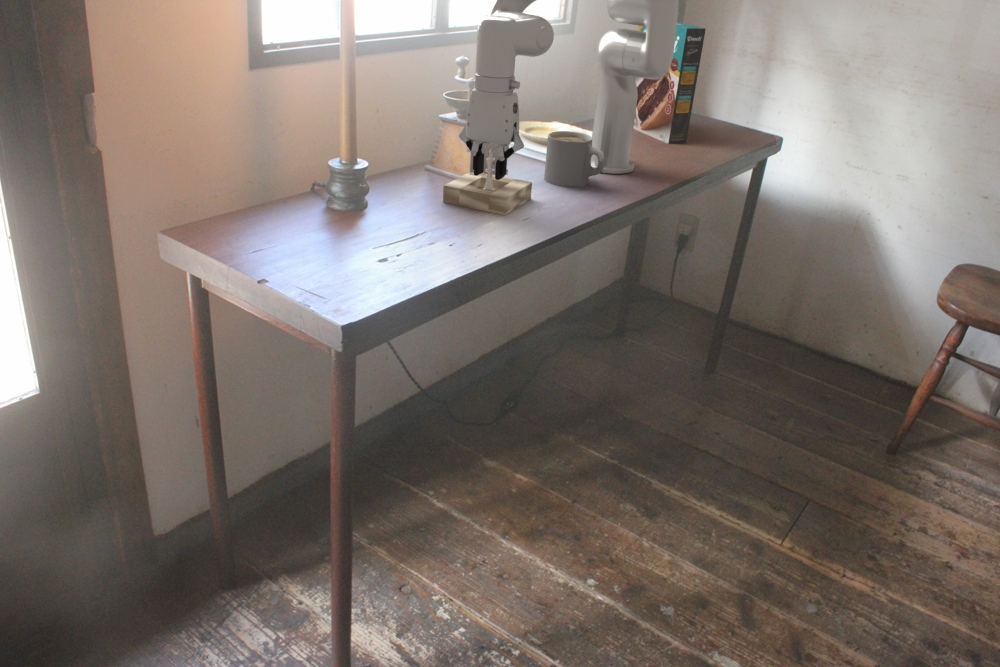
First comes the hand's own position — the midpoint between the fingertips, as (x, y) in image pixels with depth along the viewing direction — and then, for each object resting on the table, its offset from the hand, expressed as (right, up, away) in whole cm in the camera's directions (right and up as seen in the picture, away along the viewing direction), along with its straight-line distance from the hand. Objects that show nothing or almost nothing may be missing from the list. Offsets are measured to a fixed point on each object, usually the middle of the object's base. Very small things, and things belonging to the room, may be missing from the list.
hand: (489, 175), depth 162 cm
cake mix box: (+47, +25, +66) cm, 85 cm away
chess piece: (0, -4, +2) cm, 5 cm away
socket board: (0, -5, +2) cm, 5 cm away
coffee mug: (+19, +2, +18) cm, 26 cm away
